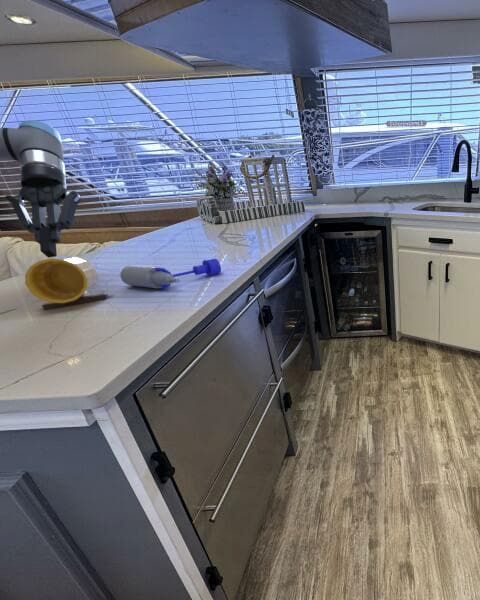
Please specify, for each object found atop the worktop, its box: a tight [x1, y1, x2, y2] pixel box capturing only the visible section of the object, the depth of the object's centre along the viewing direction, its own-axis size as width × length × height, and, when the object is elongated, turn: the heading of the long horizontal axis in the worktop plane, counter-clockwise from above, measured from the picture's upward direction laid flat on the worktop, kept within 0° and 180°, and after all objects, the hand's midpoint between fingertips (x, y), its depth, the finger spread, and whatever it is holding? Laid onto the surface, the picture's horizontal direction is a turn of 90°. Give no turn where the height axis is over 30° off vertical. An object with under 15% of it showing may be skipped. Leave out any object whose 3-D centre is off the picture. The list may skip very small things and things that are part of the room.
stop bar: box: [41, 292, 109, 310], centre depth 80 cm, size 12×2×1 cm, turn 119°
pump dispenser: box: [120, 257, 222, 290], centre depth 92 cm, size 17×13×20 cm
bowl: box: [24, 255, 99, 303], centre depth 77 cm, size 10×10×8 cm
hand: (48, 253), depth 72 cm, fingers closed
